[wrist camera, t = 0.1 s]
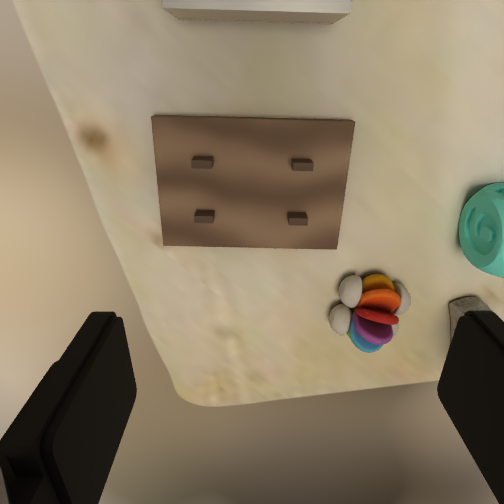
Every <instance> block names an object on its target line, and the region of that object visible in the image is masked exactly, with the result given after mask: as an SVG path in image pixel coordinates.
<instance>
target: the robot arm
mask: <svg viewBox="0 0 504 504" xmlns="http://www.w3.org/2000/svg"><path fill="white" fill-rule="evenodd" d="M437 391H438V396H439V399H440V401H441V403H442V404H443V406H444V408H445V410H446V411H447V413H448V415H449V417H450V418H451V420H452V422H453V424H454V425H455V427H456V429H457V430H458V432H459V434H460V436H461V438H462V439H463V441H464V443H465V445H466V446H467V448H468V450H469V452H470V453H471V455H472V457H473V459H474V460H475V462H476V464H477V465H478V467H479V469H480V471H481V473H482V474H483V476H484V478H485V480H486V481H487V483H488V485H489V487H490V488H491V490H492V492H493V493H494V495H495V497H496V499H497V501H498V502H499V504H504V322H503V321H502V320H501V319H500V318H499V317H498V316H497V315H496V314H495V313H494V312H493V311H489V310H479V311H467V312H466V313H465V314H464V316H461V317H459V319H458V322H457V325H456V328H455V331H454V335H453V338H452V341H451V344H450V347H449V351H448V354H447V357H446V360H445V364H444V367H443V370H442V373H441V377H440V380H439V383H438V388H437ZM136 392H137V388H136V382H135V378H134V372H133V368H132V363H131V358H130V353H129V348H128V343H127V338H126V333H125V328H124V323H123V319H122V318H121V317H117V316H116V314H115V312H92V313H91V314H90V315H89V316H88V318H87V319H86V321H85V322H84V324H83V325H82V327H81V328H80V330H79V331H78V332H77V334H76V336H75V337H74V339H73V340H72V342H71V343H70V344H69V346H68V347H67V349H66V350H65V352H64V353H63V355H62V356H61V358H60V359H59V360H58V361H57V362H55V363H54V364H53V365H52V366H51V367H50V368H49V370H48V372H47V373H46V374H45V376H44V377H43V379H42V380H41V381H40V383H39V384H38V386H37V387H36V389H35V390H34V392H33V393H32V395H31V396H30V398H29V399H28V401H27V402H26V404H25V405H24V406H23V408H22V409H21V411H20V412H19V414H18V415H17V417H16V418H15V419H14V421H13V422H12V424H11V425H10V427H9V428H8V430H7V431H6V433H5V434H4V436H3V437H2V438H1V440H0V504H98V503H99V500H100V497H101V495H102V492H103V489H104V486H105V483H106V481H107V478H108V475H109V472H110V469H111V466H112V464H113V461H114V458H115V455H116V452H117V450H118V447H119V444H120V441H121V438H122V436H123V433H124V430H125V427H126V424H127V422H128V419H129V416H130V413H131V411H132V408H133V405H134V402H135V398H136Z"/></svg>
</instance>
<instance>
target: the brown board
mask: <svg viewBox="0 0 504 504" xmlns="http://www.w3.org/2000/svg"><path fill="white" fill-rule="evenodd" d="M151 120H152V130H153V141H154V151H155V162H156V172H157V183H158V193H159V204H160V214H161V225H162V235H163V246H204V247H249V248H294V249H337V244H338V237H339V230H340V223H341V216H342V209H343V202H344V196H345V189H346V182H347V175H348V168H349V161H350V154H351V147H352V140H353V133H354V127H355V121H353V120H335V119H297V118H258V117H219V116H181V115H153V116H151Z"/></svg>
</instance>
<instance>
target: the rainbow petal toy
mask: <svg viewBox="0 0 504 504" xmlns="http://www.w3.org/2000/svg"><path fill="white" fill-rule="evenodd" d="M339 297H340V299H341V301H342V302H343V303H344V304H339V305H337V306H335V307H334V308H333V309H332V310H331V312H330V316H329V323H330V326H331V328H332V329H333V330H334V331H335V332H336V333H337V334H339V335H345V334H346V333H347V335H348V336H349V337H350V338H351V340H352V342H353V344H354V345H355V346H356V347H357V348H358V349H360V350H361V351H364V352H368V353H370V352H375V351H377V350H379V349H380V348H381V347H382V346H383V344H386V343H388V342H389V341H390V340H391V339H392V338H393V337H394V336H395V335H396V333H397V331H398V322H399V318H398V317H397V316H396V315H400V314H402V313H404V312H405V311H406V310H407V309H408V308H409V306H410V302H411V298H410V294H409V292H408V290H407V289H406V288H405V287H404V286H402V285H401V284H398V283H394V284H393V283H392V281H391V280H390V279H389V278H388V277H387V276H385V275H383V274H373V275H370V276H367V277H366V278H364V279H363V280H361V278H360V276H358V275H352V276H348V277H346V278H345V279H344V280H343V281H342V282H341V284H340V287H339ZM355 306H356V307H355ZM349 307H350V308H349ZM354 307H355V308H354Z"/></svg>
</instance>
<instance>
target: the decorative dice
mask: <svg viewBox="0 0 504 504" xmlns="http://www.w3.org/2000/svg"><path fill="white" fill-rule="evenodd" d="M459 239H460V244H461V247H462V250H463V253H464V255H465V256H466V258H467V259H468V260H469V262H470V263H471V264H472V265H474V266H475V267H476V268H478V269H480V270H482V271H484V272H486V273H489V274H491V275H494V276H498V277H502V278H504V182H501V183H494V184H490V185H487V186H485V187H484V188H482V189H481V190H479V191H478V192H477V193H476V194H474V195H473V196H472V197H471V198H470V200H469V201H468V202H467V203H466V205H465V206H464V208H463V210H462V213H461V216H460V221H459Z"/></svg>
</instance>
